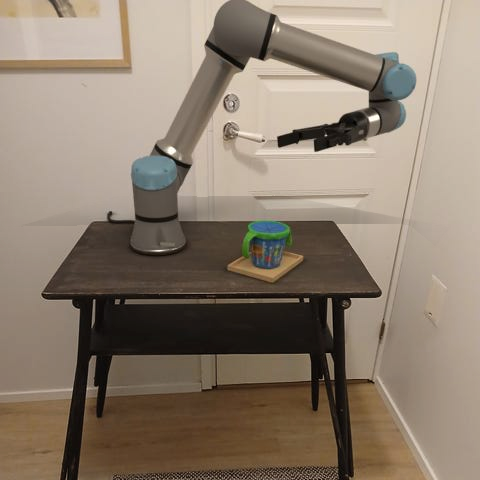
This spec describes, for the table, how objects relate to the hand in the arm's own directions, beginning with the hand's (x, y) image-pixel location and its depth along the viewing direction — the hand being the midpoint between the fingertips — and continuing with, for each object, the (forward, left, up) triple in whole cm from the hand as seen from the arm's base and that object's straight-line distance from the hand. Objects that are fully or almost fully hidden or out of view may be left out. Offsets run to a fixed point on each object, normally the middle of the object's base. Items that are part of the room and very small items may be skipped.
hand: (295, 143), depth 118 cm
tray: (-2, -8, -29) cm, 31 cm away
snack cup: (-2, -8, -29) cm, 30 cm away
